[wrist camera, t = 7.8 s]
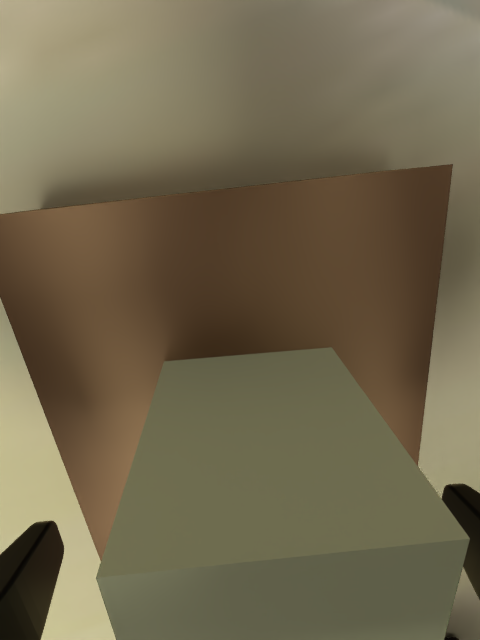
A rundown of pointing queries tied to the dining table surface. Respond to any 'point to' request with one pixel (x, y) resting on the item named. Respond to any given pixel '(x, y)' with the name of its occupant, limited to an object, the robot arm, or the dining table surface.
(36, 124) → the dining table surface
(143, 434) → the sage cube
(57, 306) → the walnut block
